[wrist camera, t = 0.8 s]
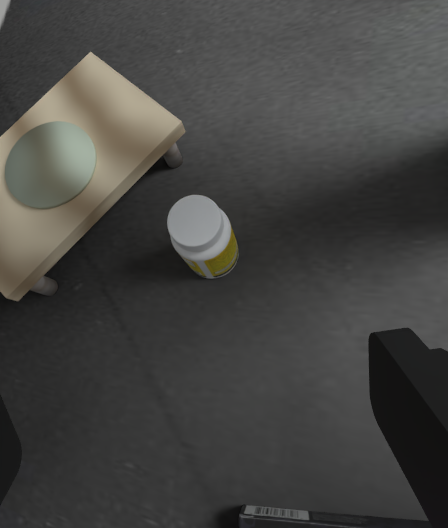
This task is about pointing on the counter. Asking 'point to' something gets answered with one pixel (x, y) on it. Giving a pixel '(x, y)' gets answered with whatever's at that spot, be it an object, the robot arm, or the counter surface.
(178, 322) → the counter surface
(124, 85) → the shelf stand
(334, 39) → the counter surface
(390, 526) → the box
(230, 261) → the supplement bottle
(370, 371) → the robot arm
